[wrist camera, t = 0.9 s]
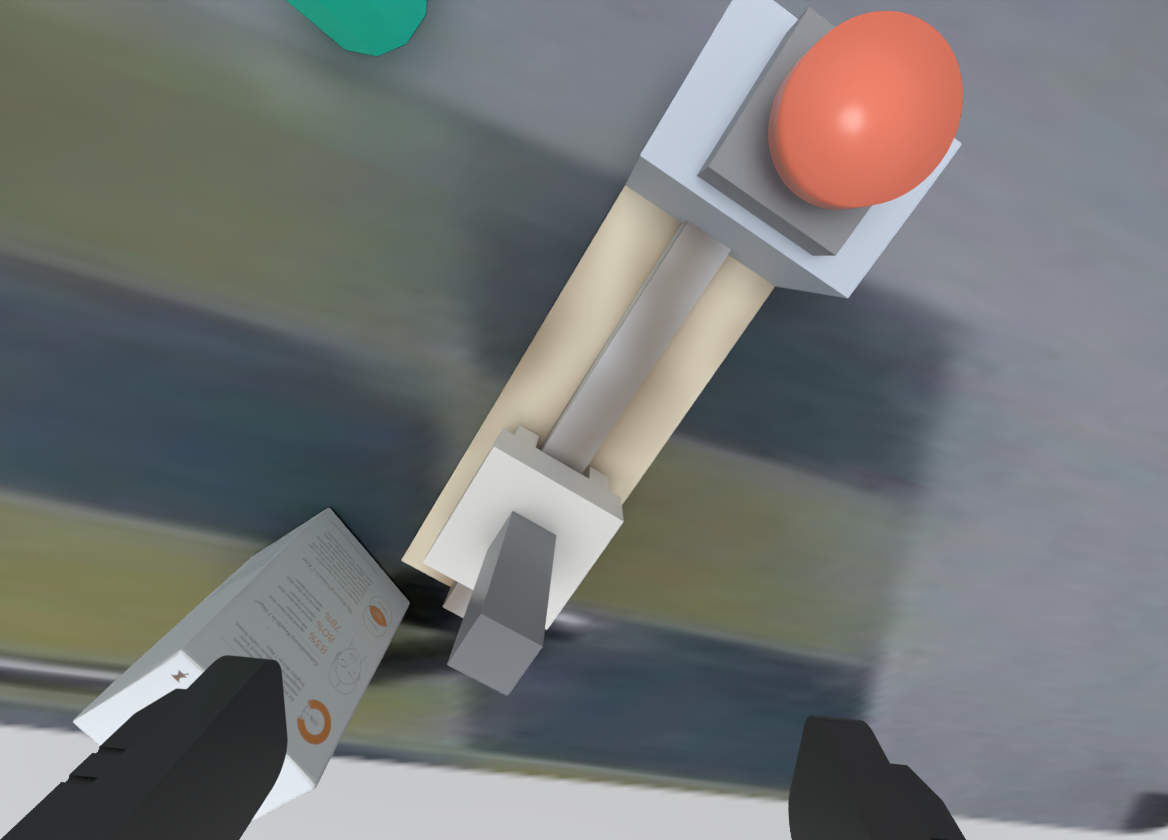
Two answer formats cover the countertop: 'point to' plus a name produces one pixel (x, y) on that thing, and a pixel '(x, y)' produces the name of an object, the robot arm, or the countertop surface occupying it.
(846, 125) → the button
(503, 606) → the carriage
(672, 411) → the rail
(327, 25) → the candle
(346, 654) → the small box
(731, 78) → the push button housing
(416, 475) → the countertop surface
